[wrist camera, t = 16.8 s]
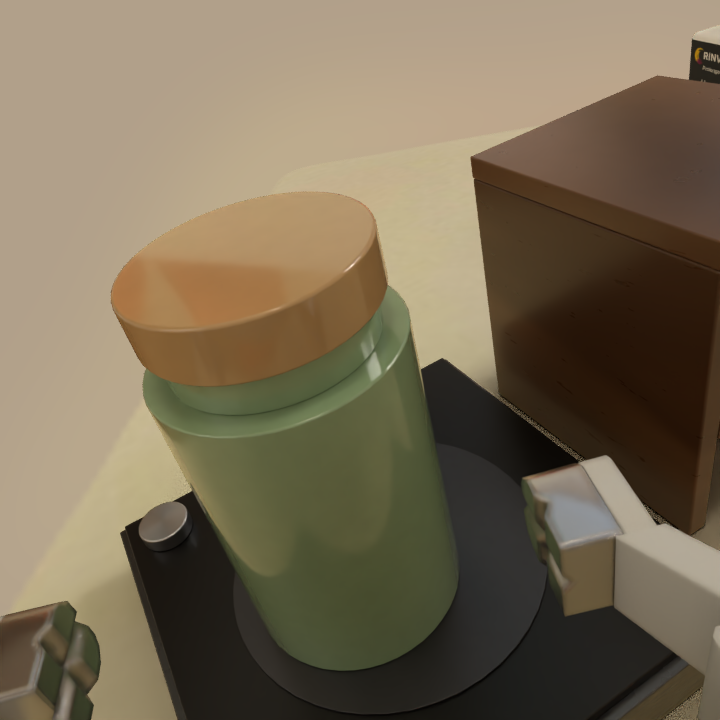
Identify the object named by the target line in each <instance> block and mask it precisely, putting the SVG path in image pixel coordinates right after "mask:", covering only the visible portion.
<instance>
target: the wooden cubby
mask: <svg viewBox="0 0 720 720" xmlns="http://www.w3.org/2000/svg"><path fill="white" fill-rule="evenodd" d="M471 166H472V174H473V178H475V179H474V187H475V195H476V204H477V212H478V221H479V229H480V238H481V246H482V254H483V263H484V271H485V280H486V288H487V296H488V305H489V313H490V322H491V330H492V339H493V347H494V355H495V364H496V372H497V381H498V389H499V393H500V395H502V396H503V397H504V398H506V399H507V400H508V401H510V402H511V403H512V404H514V405H515V406H516V407H518V408H519V409H520V410H522V411H523V412H524V413H526V414H527V415H528V416H530V417H531V418H532V419H534V420H535V421H536V422H538V423H539V424H540V425H542V426H543V427H544V428H546V429H547V430H548V431H550V432H551V433H552V434H554V435H555V436H556V437H558V438H559V439H560V440H562V441H563V442H564V443H566V444H567V445H568V446H570V447H571V448H572V449H574V450H575V451H576V452H578V453H579V454H580V455H582V456H583V457H584V458H586V459H587V460H589V459H593V458H597V457H601V456H604V455H607V456H608V457H610V458H611V459H612V460H613V462H614V463H615V465H616V466H617V468H618V469H619V471H620V472H621V474H622V475H623V476H624V478H625V479H626V481H627V482H628V484H629V485H630V487H631V488H632V490H633V491H634V493H635V494H636V495H637V497H638V498H639V499H640V500H641V501H643V502H644V503H645V504H647V505H648V506H649V507H651V508H652V509H653V510H655V511H656V512H657V513H659V514H660V515H661V516H663V517H664V518H665V519H667V520H668V521H669V522H671V523H672V524H673V525H675V526H676V527H677V528H679V529H680V530H681V531H683V532H684V533H685V534H687V535H691V534H693V533H694V532H696V531H697V530H698V529H700V528H701V527H703V526H704V525H705V520H706V513H707V506H708V499H709V492H710V485H711V478H712V471H713V464H714V457H715V449H716V442H717V439H719V438H720V84H715V83H708V82H701V81H693V80H685V79H678V78H671V77H664V76H655V77H653V78H651V79H648V80H646V81H644V82H641V83H639V84H637V85H635V86H632V87H630V88H628V89H625V90H623V91H621V92H619V93H616V94H614V95H612V96H610V97H607V98H605V99H602V100H600V101H598V102H596V103H593V104H591V105H589V106H586V107H584V108H582V109H580V110H577V111H575V112H573V113H570V114H568V115H566V116H563V117H561V118H559V119H556V120H554V121H552V122H550V123H547V124H545V125H543V126H540V127H538V128H536V129H533V130H531V131H529V132H527V133H524V134H522V135H520V136H517V137H515V138H513V139H511V140H508V141H506V142H504V143H501V144H499V145H497V146H494V147H492V148H490V149H488V150H485V151H483V152H481V153H478V154H476V155H474V156H471Z"/></svg>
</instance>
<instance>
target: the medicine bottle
mask: <svg viewBox="0 0 720 720" xmlns="http://www.w3.org/2000/svg"><path fill="white" fill-rule="evenodd" d="M689 80H693V81H701V82H708V83H715V84H720V25H718V26H714V27H711V28H708V29H705V30H702V31H699V32H696V33H695V34H694V35H693V38H692V47H691V61H690V74H689Z"/></svg>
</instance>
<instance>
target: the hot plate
mask: <svg viewBox="0 0 720 720" xmlns="http://www.w3.org/2000/svg"><path fill="white" fill-rule="evenodd" d="M421 373H422V378H423V383H424V388H425V393H426V398H427V403H428V408H429V413H430V417H431V422H432V427H433V432H434V437H435V442H436V447H437V452H438V457H439V462H440V466H441V471H442V476H443V481H444V486H445V491H446V496H447V501H448V506H449V511H450V515H451V520H452V525H453V530H454V535H455V540H456V545H457V550H458V555H459V564H460V572H459V582H458V586H457V590H456V593H455V596H454V599H453V601H452V603H451V606H450V608H449V609H448V611H447V613H446V615H445V616H444V618H443V619H442V621H441V622H440V623H439V625H438V626H437V627H436V628H435V630H434V631H433V632H432V633H431V634H430V635H429V636H428V637H427V638H426V639H425V640H424V641H422V642H421V643H420V644H419V645H417V646H416V647H415V648H413V649H412V650H410V651H409V652H407V653H405V654H404V655H402V656H400V657H399V658H396V659H394V660H392V661H389V662H387V663H385V664H382V665H378V666H375V667H371V668H366V669H360V670H351V671H337V670H327V669H322V668H318V667H314V666H311V665H308V664H306V663H304V662H301V661H299V660H297V659H296V658H294V657H292V656H291V655H289V654H288V653H286V652H285V651H284V650H283V649H282V648H281V647H279V646H278V644H277V643H276V642H275V641H274V640H273V639H272V637H271V636H270V634H269V633H268V631H267V629H266V628H265V626H264V624H263V622H262V620H261V618H260V616H259V615H258V613H257V611H256V609H255V607H254V605H253V603H252V601H251V600H250V598H249V596H248V594H247V592H246V590H245V588H244V587H243V585H242V583H241V581H240V579H239V577H238V575H237V573H236V572H235V570H234V568H233V566H232V564H231V562H230V560H229V559H228V557H227V555H226V553H225V551H224V549H223V547H222V545H221V544H220V542H219V540H218V538H217V536H216V534H215V532H214V531H213V529H212V527H211V525H210V523H209V521H208V519H207V517H206V516H205V514H204V512H203V510H202V508H201V506H200V504H199V502H198V501H197V499H196V497H195V495H194V493H193V491H191V492H190V493H188V494H186V495H184V496H182V497H180V498H178V499H176V500H174V501H173V502H166V503H163V504H160V505H158V506H156V507H154V508H153V509H151V510H150V511H149V512H148V513H147V514H146V515H145V516H144V517H143V518H141V519H139V520H137V521H135V522H133V523H131V524H129V525H127V526H126V527H125V530H124V531H122V532H121V533H120V535H121V538H122V541H123V544H124V548H125V551H126V554H127V557H128V561H129V564H130V567H131V570H132V573H133V577H134V580H135V583H136V586H137V590H138V593H139V596H140V599H141V603H142V606H143V609H144V612H145V616H146V619H147V622H148V625H149V628H150V632H151V635H152V638H153V641H154V645H155V648H156V651H157V654H158V658H159V661H160V664H161V667H162V671H163V674H164V677H165V680H166V683H167V687H168V690H169V693H170V696H171V700H172V703H173V706H174V709H175V713H176V716H177V719H178V720H661V719H663V718H664V717H665V716H666V715H668V714H669V713H670V712H671V711H672V710H674V709H675V708H676V707H677V706H679V705H680V704H681V703H682V702H684V701H685V700H686V699H687V698H689V697H690V696H691V695H692V694H693V693H695V692H696V691H697V690H698V689H700V688H701V687H702V686H703V685H704V679H705V675H703V674H702V673H701V672H699V671H698V670H697V669H695V668H694V667H693V666H691V665H690V664H689V663H687V662H686V661H685V660H683V659H682V658H681V657H679V656H678V655H677V654H675V653H674V652H673V651H671V650H670V649H669V648H667V647H666V646H665V645H663V644H662V643H661V642H659V641H658V640H657V639H655V638H654V637H653V636H651V635H650V634H649V633H647V632H646V631H645V630H643V629H642V628H641V627H639V626H638V625H637V624H635V623H634V622H633V621H631V620H630V619H629V618H627V617H626V616H625V615H623V614H622V613H621V612H619V611H618V610H617V609H615V608H614V605H611V606H607V607H603V608H599V609H594V610H590V611H586V612H582V613H578V614H573V615H569V616H564V614H563V612H562V610H561V608H560V605H559V603H558V601H557V599H556V597H555V595H554V593H553V591H552V588H551V586H550V584H549V576H548V567H547V566H545V565H544V564H542V563H541V562H539V560H538V558H537V556H536V553H535V551H534V549H533V546H532V544H531V541H530V538H529V535H528V531H527V527H526V523H525V516H524V509H525V507H526V506H527V505H528V504H527V502H526V500H525V498H524V496H523V494H522V487H521V481H522V478H523V477H527V476H530V475H534V474H537V473H541V472H545V471H548V470H552V469H555V468H559V467H562V466H566V465H569V464H573V463H578V462H579V461H578V460H576V459H575V458H574V457H572V456H571V455H570V454H569V453H567V452H566V451H565V450H563V449H562V448H561V447H559V446H558V445H557V444H555V443H554V442H553V441H552V440H550V439H549V438H548V437H546V436H545V435H544V434H542V433H541V432H540V431H538V430H537V429H536V428H535V427H533V426H532V425H531V424H529V423H528V422H527V421H525V420H524V419H523V418H521V417H520V416H519V415H518V414H516V413H515V412H514V411H512V410H511V409H510V408H508V407H507V406H506V405H504V404H503V403H502V402H501V401H499V400H498V399H497V398H495V397H494V396H493V395H491V394H490V393H489V392H487V391H486V390H485V389H484V388H482V387H481V386H480V385H478V384H477V383H476V382H474V381H473V380H472V379H471V378H469V377H468V376H467V375H465V374H464V373H463V372H461V371H460V370H459V369H457V368H456V367H455V366H454V365H452V364H451V363H450V362H448V361H447V360H444V359H443V358H441V359H439V360H438V361H436V362H434V363H432V364H430V365H428V366H426V367H424V368H423V369H421ZM652 519H653V520H654V522H655V523H656V525H660V523H659V522H657V521H656V520H655V519H654V518H652Z"/></svg>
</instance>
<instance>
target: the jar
mask: <svg viewBox="0 0 720 720" xmlns="http://www.w3.org/2000/svg"><path fill="white" fill-rule="evenodd" d="M111 304H112V307H113V311H114V312H115V314H116V316H117V318H118V320H119V322H120V324H121V326H122V328H123V330H124V332H125V334H126V336H127V338H128V339H129V342H130V343H131V345H132V347H133V349H134V351H135V353H136V355H137V357H138V359H139V360H140V361H141V363H142V365H143V366H144V367H146V370H145V373H144V378H143V396H144V399H145V402H146V405H147V407H148V409H149V411H150V413H151V415H152V417H153V418H154V420H155V422H156V424H157V426H158V428H159V430H160V431H161V433H162V435H163V437H164V439H165V441H166V443H167V445H168V446H169V448H170V450H171V452H172V454H173V456H174V458H175V460H176V461H177V463H178V465H179V467H180V469H181V471H182V473H183V474H184V476H185V478H186V480H187V482H188V484H189V486H190V488H191V489H192V491H193V493H194V495H195V497H196V499H197V501H198V502H199V504H200V506H201V508H202V510H203V512H204V514H205V516H206V517H207V519H208V521H209V523H210V525H211V527H212V529H213V531H214V532H215V534H216V536H217V538H218V540H219V542H220V544H221V545H222V547H223V549H224V551H225V553H226V555H227V557H228V559H229V560H230V562H231V564H232V566H233V568H234V570H235V572H236V573H237V575H238V577H239V579H240V581H241V583H242V585H243V587H244V588H245V590H246V592H247V594H248V596H249V598H250V600H251V601H252V603H253V605H254V607H255V609H256V611H257V613H258V615H259V616H260V618H261V620H262V622H263V624H264V626H265V628H266V629H267V631H268V633H269V634H270V636H271V637H272V639H273V640H274V641H275V642H276V643H277V644H278V646H279V647H281V648H282V649H283V650H284V651H285V652H286V653H288V654H289V655H291V656H292V657H294V658H296V659H297V660H299V661H301V662H304V663H306V664H308V665H311V666H314V667H318V668H322V669H327V670H337V671H351V670H360V669H366V668H371V667H375V666H378V665H382V664H385V663H387V662H389V661H392V660H394V659H396V658H399V657H400V656H402V655H404V654H405V653H407V652H409V651H410V650H412V649H413V648H415V647H416V646H417V645H419V644H420V643H421V642H422V641H424V640H425V639H426V638H427V637H428V636H429V635H430V634H431V633H432V632H433V631H434V630H435V628H436V627H437V626H438V625H439V623H440V622H441V621H442V619H443V618H444V616H445V615H446V613H447V611H448V609H449V608H450V606H451V603H452V601H453V599H454V596H455V593H456V590H457V586H458V582H459V572H460V564H459V555H458V550H457V545H456V540H455V535H454V530H453V525H452V520H451V515H450V511H449V506H448V501H447V496H446V491H445V486H444V481H443V476H442V471H441V466H440V462H439V457H438V452H437V447H436V442H435V437H434V432H433V427H432V422H431V417H430V413H429V408H428V403H427V398H426V393H425V388H424V383H423V378H422V373H421V368H420V364H419V359H418V354H417V349H416V344H415V339H414V334H413V329H412V324H411V319H410V315H409V310H408V308H407V306H406V304H405V301H404V300H403V299H402V298H401V296H400V295H399V294H398V293H397V292H396V291H395V290H394V289H393V288H392V287H390V286H389V285H388V275H387V269H386V265H385V260H384V256H383V251H382V246H381V242H380V237H379V233H378V228H377V224H376V220H375V218H374V216H373V214H372V213H371V211H370V210H369V209H368V208H367V207H366V206H365V205H364V204H362V203H361V202H359V201H357V200H355V199H353V198H350V197H347V196H344V195H340V194H334V193H328V192H291V193H282V194H274V195H268V196H263V197H258V198H254V199H250V200H245V201H242V202H238V203H234V204H231V205H228V206H225V207H222V208H219V209H216V210H213V211H211V212H208V213H205V214H203V215H201V216H198V217H196V218H194V219H192V220H189V221H187V222H185V223H183V224H181V225H179V226H177V227H175V228H174V229H172V230H170V231H168V232H167V233H165V234H163V235H162V236H160V237H158V238H157V239H155V240H154V241H152V242H151V243H150V244H148V245H147V246H146V247H144V248H143V249H142V250H140V251H139V252H138V253H137V254H136V255H135V256H134V257H132V258H131V260H130V261H129V262H128V263H127V264H126V265H125V266H124V267H123V269H122V270H121V271H120V273H119V274H118V275H117V277H116V280H115V281H114V283H113V286H112V290H111Z"/></svg>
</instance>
